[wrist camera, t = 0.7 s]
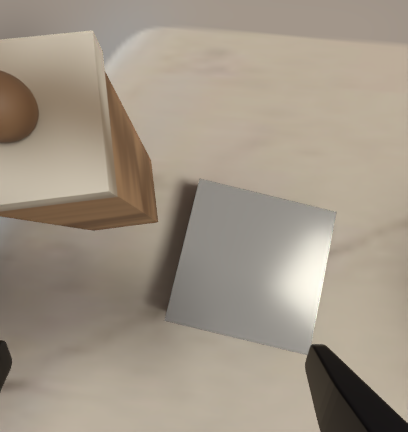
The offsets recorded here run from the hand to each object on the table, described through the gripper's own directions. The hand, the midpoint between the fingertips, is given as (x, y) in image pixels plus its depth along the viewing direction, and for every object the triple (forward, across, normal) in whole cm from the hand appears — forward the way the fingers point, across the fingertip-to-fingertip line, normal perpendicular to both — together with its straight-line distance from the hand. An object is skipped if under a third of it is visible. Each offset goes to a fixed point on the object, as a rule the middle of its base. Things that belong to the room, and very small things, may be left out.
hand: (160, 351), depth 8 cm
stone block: (+13, -5, +5) cm, 15 cm away
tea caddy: (+15, +5, +1) cm, 16 cm away
